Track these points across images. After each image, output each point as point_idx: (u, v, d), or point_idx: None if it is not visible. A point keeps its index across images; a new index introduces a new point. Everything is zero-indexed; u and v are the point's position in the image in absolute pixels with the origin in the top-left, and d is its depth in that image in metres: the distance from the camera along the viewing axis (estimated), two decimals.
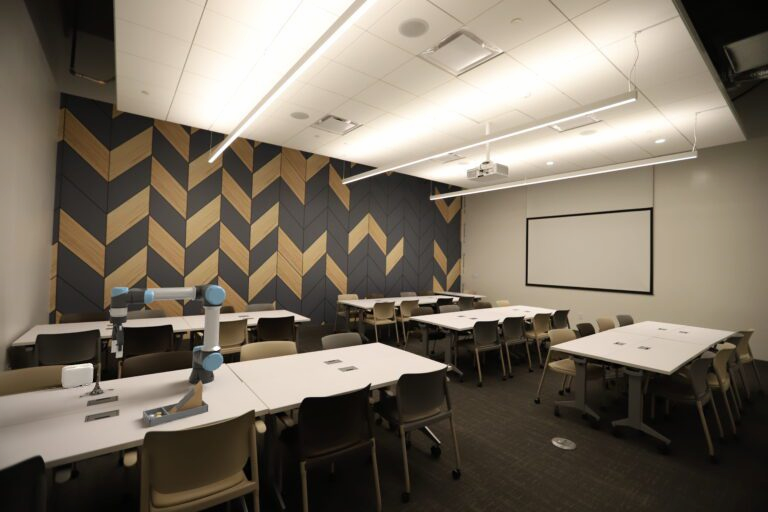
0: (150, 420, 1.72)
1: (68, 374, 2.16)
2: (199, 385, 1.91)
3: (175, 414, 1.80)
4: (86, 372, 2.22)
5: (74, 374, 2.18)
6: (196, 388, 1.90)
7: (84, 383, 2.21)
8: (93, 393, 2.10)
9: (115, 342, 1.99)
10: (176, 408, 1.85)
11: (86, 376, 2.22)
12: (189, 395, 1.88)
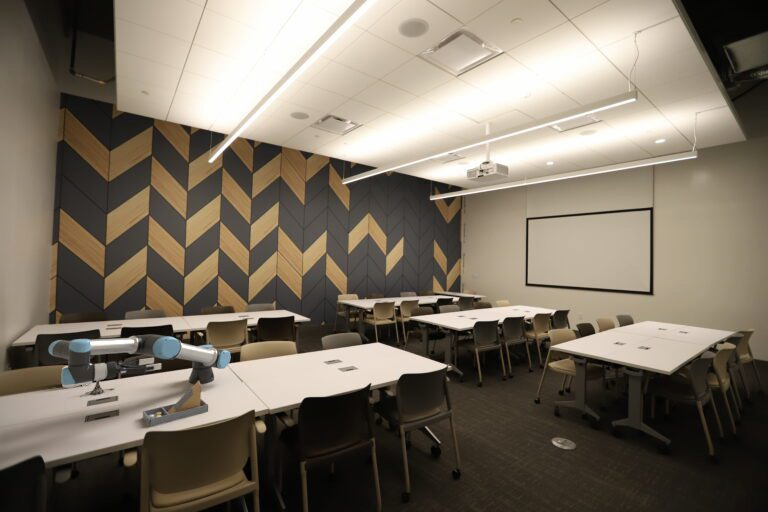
0: (150, 420, 1.72)
1: None
2: (197, 385, 1.90)
3: (175, 414, 1.80)
4: None
5: None
6: (194, 389, 1.89)
7: (84, 383, 2.21)
8: (94, 393, 2.11)
9: (141, 361, 1.84)
10: (174, 408, 1.84)
11: None
12: (187, 395, 1.88)
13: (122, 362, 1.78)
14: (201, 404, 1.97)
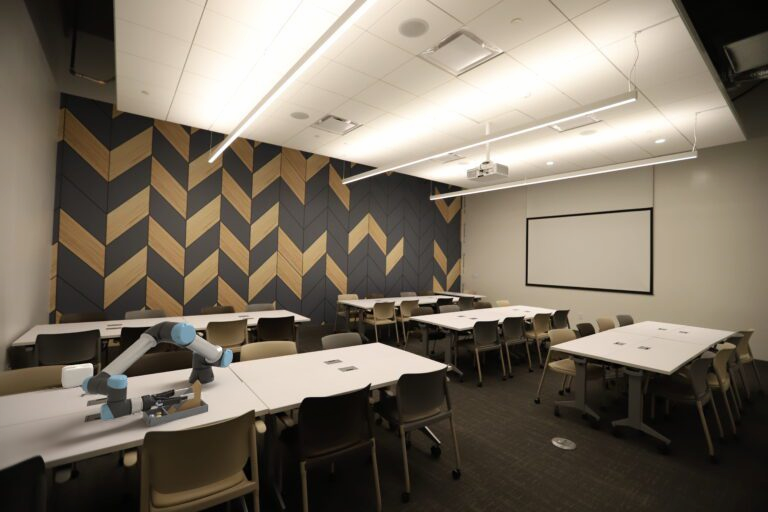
0: (150, 420, 1.72)
1: (68, 374, 2.16)
2: (197, 384, 1.91)
3: (175, 414, 1.80)
4: (86, 372, 2.22)
5: (74, 374, 2.18)
6: (194, 388, 1.90)
7: None
8: None
9: (177, 392, 1.90)
10: (174, 408, 1.85)
11: (86, 376, 2.22)
12: None
13: None
14: (201, 404, 1.97)
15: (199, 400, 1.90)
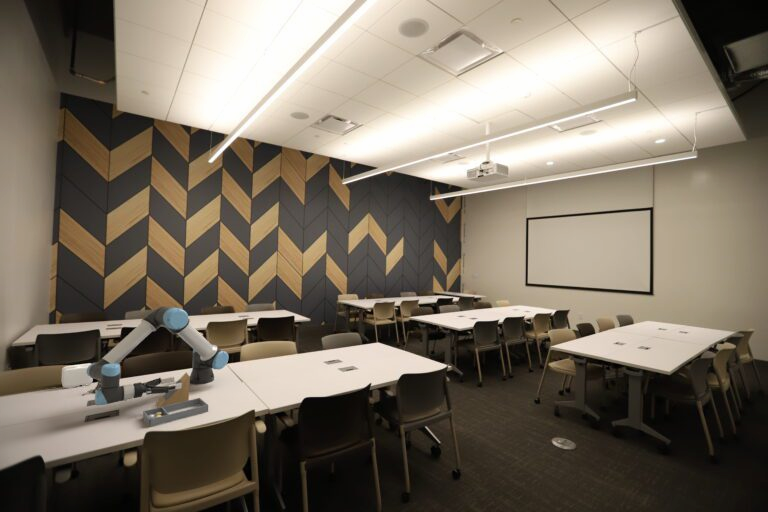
0: (150, 420, 1.72)
1: (68, 374, 2.16)
2: (186, 376, 2.04)
3: (175, 414, 1.80)
4: (86, 372, 2.22)
5: (74, 374, 2.18)
6: (183, 380, 2.02)
7: (84, 383, 2.21)
8: None
9: (163, 381, 2.03)
10: (164, 398, 1.97)
11: (86, 376, 2.22)
12: None
13: (146, 382, 1.97)
14: (201, 404, 1.97)
15: (188, 391, 2.02)
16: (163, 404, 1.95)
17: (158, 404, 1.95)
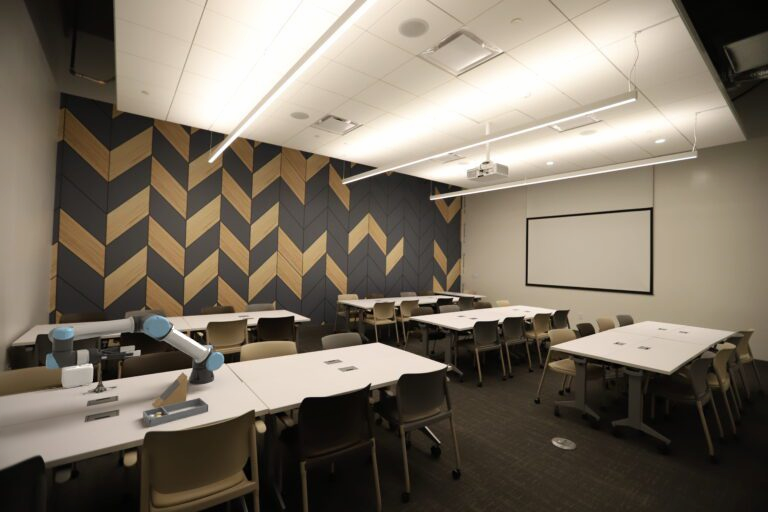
0: (150, 420, 1.72)
1: (68, 374, 2.16)
2: (183, 376, 2.04)
3: (175, 414, 1.80)
4: (86, 372, 2.22)
5: (74, 374, 2.18)
6: (180, 380, 2.02)
7: (84, 383, 2.21)
8: (96, 390, 2.14)
9: (123, 349, 1.97)
10: (162, 399, 1.96)
11: (86, 376, 2.22)
12: (174, 386, 2.00)
13: (104, 349, 1.92)
14: (201, 404, 1.97)
15: (185, 391, 2.02)
16: (161, 404, 1.94)
17: (155, 404, 1.95)
